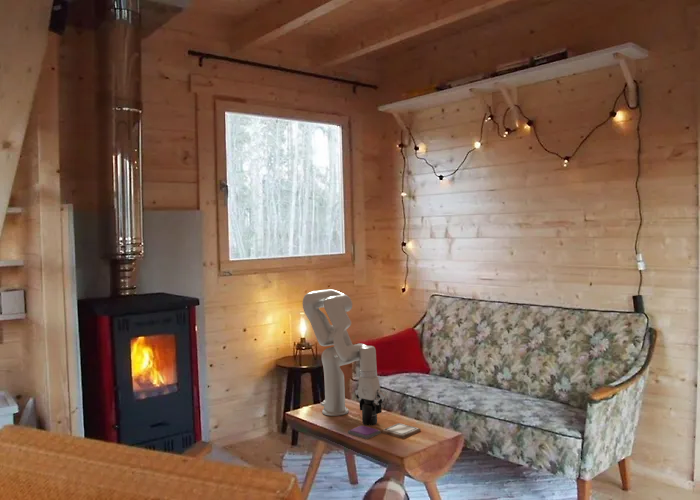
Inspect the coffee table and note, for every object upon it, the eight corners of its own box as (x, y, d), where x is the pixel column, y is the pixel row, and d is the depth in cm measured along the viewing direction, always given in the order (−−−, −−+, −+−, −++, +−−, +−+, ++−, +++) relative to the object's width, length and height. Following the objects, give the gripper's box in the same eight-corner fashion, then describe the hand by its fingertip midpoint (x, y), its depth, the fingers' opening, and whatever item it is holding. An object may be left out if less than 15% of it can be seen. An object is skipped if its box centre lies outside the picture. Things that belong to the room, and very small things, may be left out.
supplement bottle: (376, 426, 279) (375, 399, 278) (361, 425, 280) (360, 399, 279) (378, 421, 285) (377, 395, 285) (363, 420, 287) (362, 394, 286)
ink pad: (347, 433, 270) (347, 429, 270) (361, 428, 276) (361, 424, 276) (366, 439, 262) (366, 435, 262) (380, 433, 269) (380, 429, 269)
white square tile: (381, 432, 270) (381, 429, 270) (398, 425, 279) (398, 422, 279) (403, 438, 262) (402, 435, 262) (420, 430, 270) (420, 428, 270)
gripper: (349, 373, 285) (351, 410, 285) (377, 377, 273) (379, 416, 273) (360, 369, 290) (362, 406, 290) (388, 374, 278) (390, 412, 278)
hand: (370, 411), depth 282 cm, fingers open, 9 cm apart
